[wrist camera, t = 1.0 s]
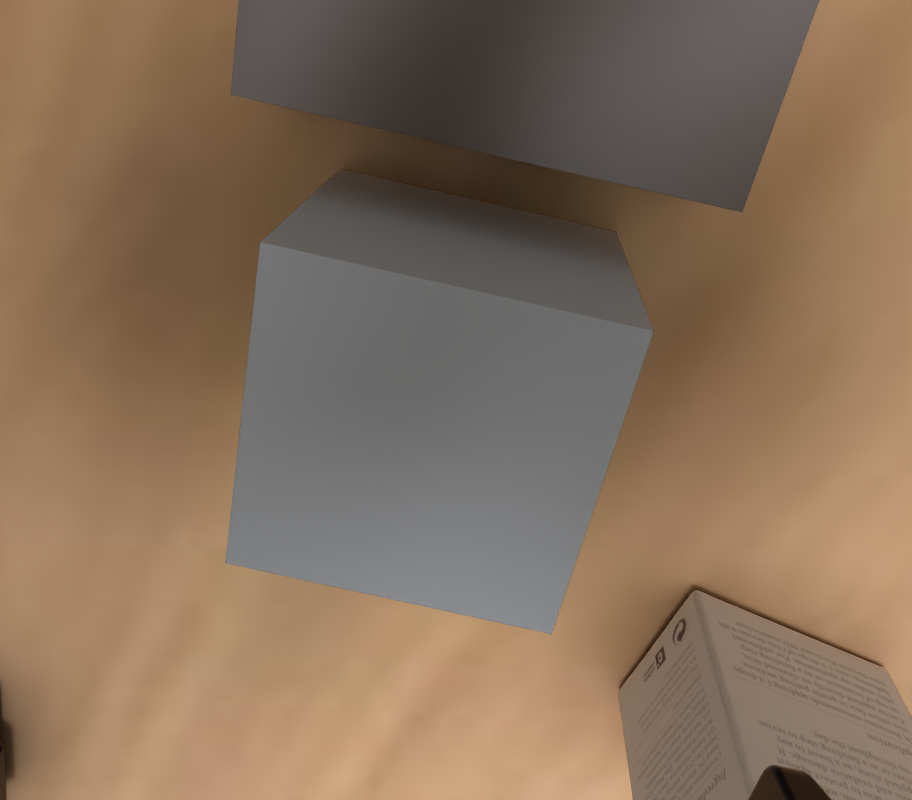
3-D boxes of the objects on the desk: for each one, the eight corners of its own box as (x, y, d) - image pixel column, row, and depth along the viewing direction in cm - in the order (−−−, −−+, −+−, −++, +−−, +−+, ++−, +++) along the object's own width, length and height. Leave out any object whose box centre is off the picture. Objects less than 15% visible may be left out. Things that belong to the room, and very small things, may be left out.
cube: (305, 413, 20) (225, 563, 15) (340, 168, 18) (260, 241, 12) (545, 467, 21) (551, 634, 15) (615, 231, 18) (653, 331, 13)
